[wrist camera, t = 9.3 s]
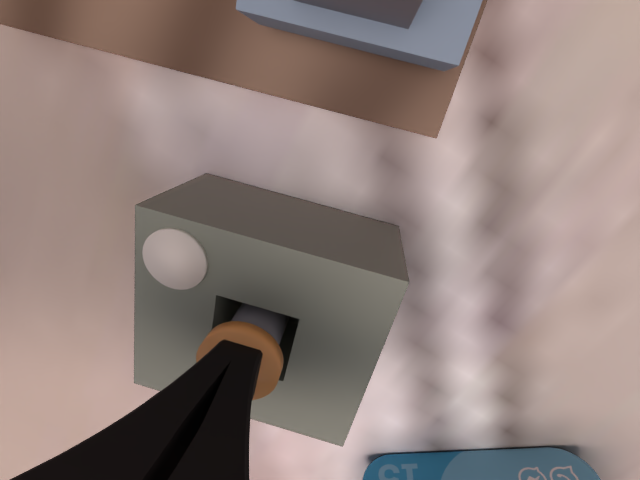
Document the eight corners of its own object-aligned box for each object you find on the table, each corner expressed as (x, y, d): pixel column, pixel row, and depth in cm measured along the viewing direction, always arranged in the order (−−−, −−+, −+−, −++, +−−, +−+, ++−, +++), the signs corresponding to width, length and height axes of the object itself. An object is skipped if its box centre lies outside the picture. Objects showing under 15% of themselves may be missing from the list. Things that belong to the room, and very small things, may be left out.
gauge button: (241, 309, 16) (193, 386, 12) (249, 257, 15) (199, 322, 10) (298, 326, 16) (271, 409, 11) (311, 275, 15) (286, 347, 10)
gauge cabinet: (192, 313, 19) (130, 386, 14) (206, 173, 15) (130, 206, 11) (350, 359, 18) (342, 451, 13) (398, 226, 15) (410, 285, 10)
